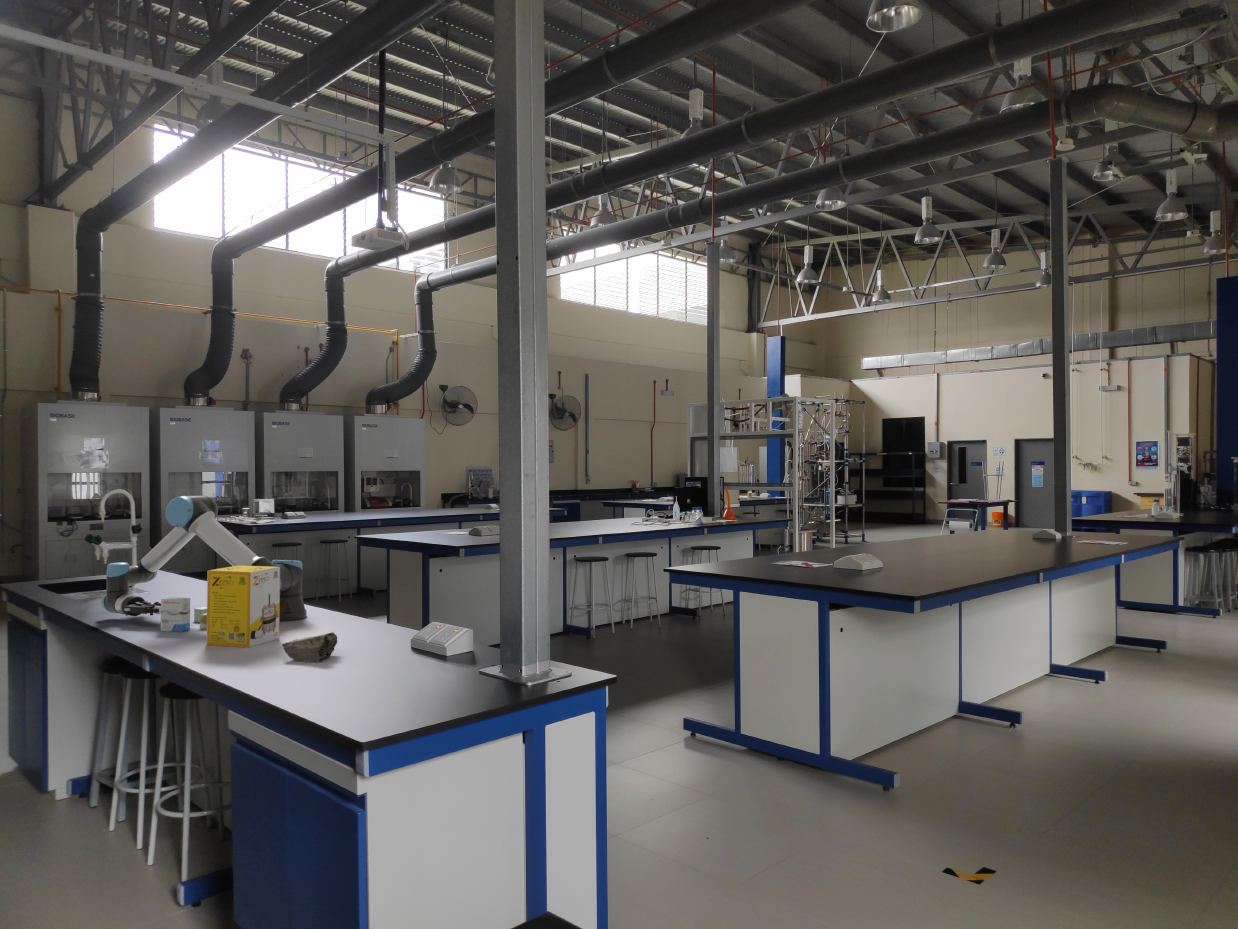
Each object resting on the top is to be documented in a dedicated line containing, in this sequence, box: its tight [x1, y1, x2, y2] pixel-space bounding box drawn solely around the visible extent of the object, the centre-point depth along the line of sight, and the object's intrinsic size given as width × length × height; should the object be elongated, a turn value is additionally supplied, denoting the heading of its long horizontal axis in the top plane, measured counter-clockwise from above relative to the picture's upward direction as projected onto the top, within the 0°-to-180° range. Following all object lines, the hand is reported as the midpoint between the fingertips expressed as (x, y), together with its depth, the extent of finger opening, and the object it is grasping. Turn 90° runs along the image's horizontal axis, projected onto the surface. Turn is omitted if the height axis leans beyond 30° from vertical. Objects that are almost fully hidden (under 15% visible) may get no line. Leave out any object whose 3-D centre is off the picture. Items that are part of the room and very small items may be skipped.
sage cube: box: [193, 606, 207, 623], centre depth 315 cm, size 5×5×5 cm
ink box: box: [160, 596, 191, 633], centre depth 296 cm, size 8×5×12 cm, turn 84°
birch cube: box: [199, 613, 207, 630], centre depth 302 cm, size 5×5×5 cm
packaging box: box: [205, 565, 280, 648], centre depth 278 cm, size 16×16×25 cm
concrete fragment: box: [281, 631, 338, 664], centre depth 254 cm, size 15×10×15 cm
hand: (166, 611), depth 299 cm, fingers closed
